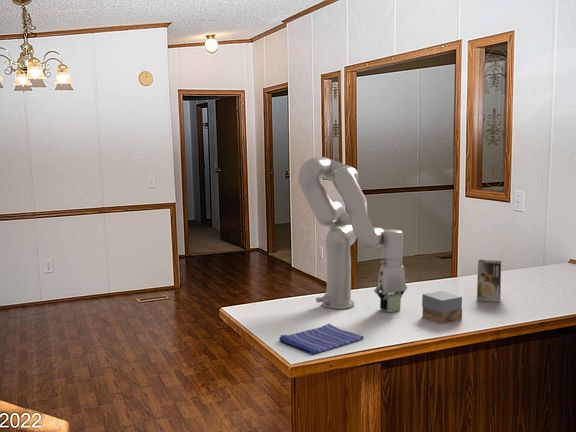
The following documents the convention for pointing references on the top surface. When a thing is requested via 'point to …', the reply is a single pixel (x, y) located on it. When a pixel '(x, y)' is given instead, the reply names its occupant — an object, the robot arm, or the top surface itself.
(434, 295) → the grey square block
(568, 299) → the top surface
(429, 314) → the walnut block
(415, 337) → the top surface
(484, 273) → the coffee box
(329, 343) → the dish towel
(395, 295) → the sage block
